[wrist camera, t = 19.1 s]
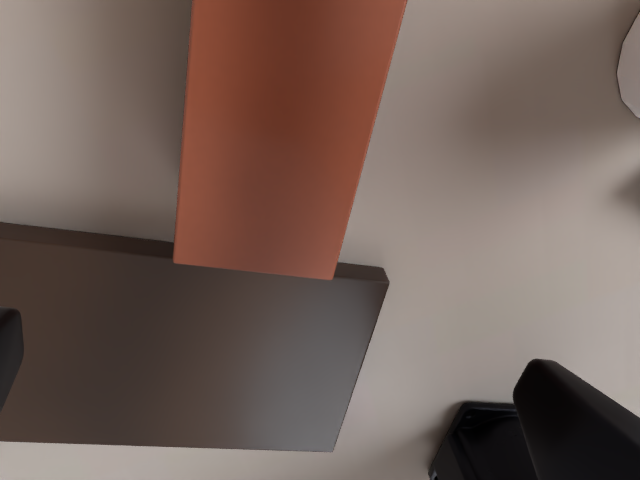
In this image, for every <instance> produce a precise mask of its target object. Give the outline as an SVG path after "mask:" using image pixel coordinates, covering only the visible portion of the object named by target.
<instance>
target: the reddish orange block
mask: <svg viewBox="0 0 640 480" xmlns="http://www.w3.org/2000/svg"><path fill="white" fill-rule="evenodd" d="M406 4H407V0H192V8H191V22H190V35H189V48H188V62H187V75H186V88H185V102H184V115H183V128H182V142H181V155H180V168H179V182H178V195H177V208H176V222H175V235H174V248H173V262H174V263H176V264H186V265H195V266H204V267H213V268H222V269H231V270H240V271H249V272H258V273H267V274H276V275H286V276H295V277H304V278H313V279H322V280H332V279H333V276H334V273H335V269H336V265H337V261H338V258H339V254H340V250H341V246H342V243H343V239H344V235H345V231H346V228H347V224H348V220H349V217H350V213H351V209H352V205H353V202H354V198H355V194H356V190H357V187H358V183H359V179H360V175H361V172H362V168H363V164H364V161H365V157H366V153H367V149H368V146H369V142H370V138H371V134H372V131H373V127H374V123H375V119H376V116H377V112H378V108H379V104H380V101H381V97H382V93H383V90H384V86H385V82H386V78H387V75H388V71H389V67H390V63H391V60H392V56H393V52H394V48H395V45H396V41H397V37H398V34H399V30H400V26H401V22H402V19H403V15H404V11H405V7H406Z"/></svg>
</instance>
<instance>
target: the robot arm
mask: <svg viewBox="0 0 640 480" xmlns="http://www.w3.org/2000/svg"><path fill="white" fill-rule="evenodd" d="M23 355H24V342H23V331H22V320H21V314H20V312H19V310H17V309H16V308H11V307H1V306H0V413H1V411H2V408H3V406H4V404H5V401H6V399H7V396H8V394H9V392H10V389H11V387H12V385H13V382H14V380H15V377H16V375H17V373H18V370H19V368H20V366H21V363H22V360H23ZM513 401H514V405H509V404H492V403H475V402H469V403H465V404H464V405H462V406H461V407H460V409H459V411H458V413H457V415H456V417H455V419H454V421H453V423H452V425H451V427H450V429H449V431H448V433H447V435H446V437H445V439H444V441H443V443H442V445H441V447H440V449H439V451H438V453H437V455H436V458H435V460H434V462H433V464H432V466H431V468H430V470H429V472H428V475H429V478H430V480H640V418H639V417H638V416H636V415H635V414H633V413H632V412H630V411H629V410H627V409H626V408H624V407H623V406H621V405H620V404H618V403H617V402H615V401H614V400H612V399H611V398H609V397H608V396H606V395H605V394H603V393H602V392H600V391H599V390H597V389H596V388H594V387H593V386H591V385H590V384H588V383H587V382H585V381H584V380H582V379H581V378H579V377H578V376H576V375H575V374H573V373H572V372H570V371H569V370H567V369H566V368H564V367H563V366H561V365H560V364H558V363H557V362H555V361H552V360H544V359H533V360H531V361H530V362H529V363H528V364H527V366H526V368H525V370H524V372H523V373H522V375H521V377H520V379H519V380H518V382H517V384H516V386H515V388H514V391H513Z"/></svg>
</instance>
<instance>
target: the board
mask: <svg viewBox="0 0 640 480" xmlns="http://www.w3.org/2000/svg"><path fill="white" fill-rule="evenodd" d="M173 248H174V243H170V242H161V241H153V240H145V239H136V238H128V237H119V236H111V235H102V234H94V233H86V232H77V231H69V230H60V229H52V228H44V227H35V226H27V225H18V224H10V223H1V222H0V306H1V307H11V308H16V309H17V310H19V312H20V314H21V320H22V331H23V342H24V355H23V360H22V363H21V366H20V368H19V370H18V373H17V375H16V377H15V380H14V382H13V385H12V387H11V389H10V392H9V394H8V396H7V399H6V401H5V404H4V406H3V408H2V411H1V413H0V441H5V442H36V443H67V444H97V445H128V446H158V447H189V448H220V449H250V450H281V451H312V452H333V450H334V447H335V444H336V441H337V438H338V435H339V432H340V429H341V426H342V423H343V420H344V417H345V414H346V411H347V408H348V405H349V402H350V399H351V396H352V393H353V390H354V387H355V384H356V381H357V378H358V375H359V372H360V369H361V366H362V364H363V361H364V358H365V355H366V352H367V349H368V346H369V343H370V340H371V337H372V334H373V331H374V328H375V325H376V322H377V319H378V316H379V313H380V310H381V307H382V304H383V301H384V298H385V295H386V292H387V289H388V286H389V280H388V277H387V275H386V273H385V271H384V269H383V268H380V267H372V266H363V265H355V264H346V263H338V262H337V265H336V269H335V273H334V276H333V279H332V280H322V279H313V278H304V277H295V276H286V275H276V274H267V273H258V272H249V271H240V270H231V269H222V268H213V267H204V266H195V265H186V264H176V263H174V262H173Z"/></svg>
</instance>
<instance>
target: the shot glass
mask: <svg viewBox="0 0 640 480" xmlns="http://www.w3.org/2000/svg"><path fill="white" fill-rule="evenodd" d="M617 78H618V83H619V88H620V93H621V99H622V100H623V102H624V103H625V104H626V105H627V106H628V107H629V109H630V110H631V111H632V112H633V113H634V114H635V116H636V117H638V118H640V12H639V14H638V16H637V18H636V20H635V21H634V23H633V25H632V27H631V29H630V31H629V33H628V34H627V36H626V38H625V40H624V42H623V45H622V50H621V55H620V60H619V65H618V70H617Z"/></svg>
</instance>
